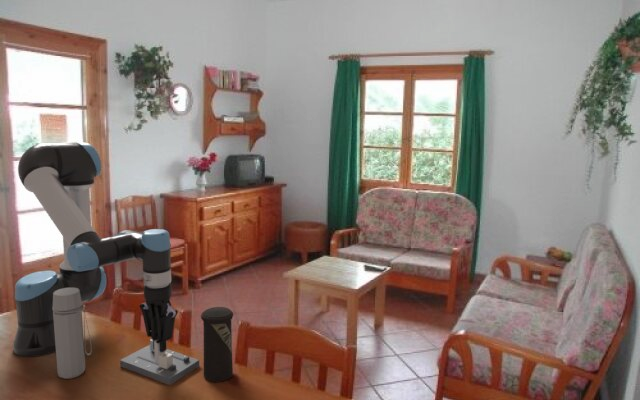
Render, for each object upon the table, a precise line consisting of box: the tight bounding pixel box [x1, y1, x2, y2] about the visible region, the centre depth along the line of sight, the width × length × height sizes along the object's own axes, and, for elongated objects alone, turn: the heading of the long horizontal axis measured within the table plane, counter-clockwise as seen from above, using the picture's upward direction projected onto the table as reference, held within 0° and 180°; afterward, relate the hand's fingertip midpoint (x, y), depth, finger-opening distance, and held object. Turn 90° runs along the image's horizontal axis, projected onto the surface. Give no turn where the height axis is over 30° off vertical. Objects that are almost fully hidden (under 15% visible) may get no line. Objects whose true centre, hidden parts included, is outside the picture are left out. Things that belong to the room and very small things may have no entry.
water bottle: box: [52, 287, 93, 380], centre depth 136 cm, size 9×8×25 cm
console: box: [119, 344, 200, 386], centre depth 143 cm, size 20×12×3 cm, turn 62°
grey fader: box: [149, 338, 154, 352], centre depth 148 cm, size 3×2×4 cm
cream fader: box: [159, 352, 173, 369], centre depth 139 cm, size 3×2×4 cm
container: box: [200, 306, 234, 383], centre depth 138 cm, size 9×9×20 cm
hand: (160, 360), depth 140 cm, fingers closed
